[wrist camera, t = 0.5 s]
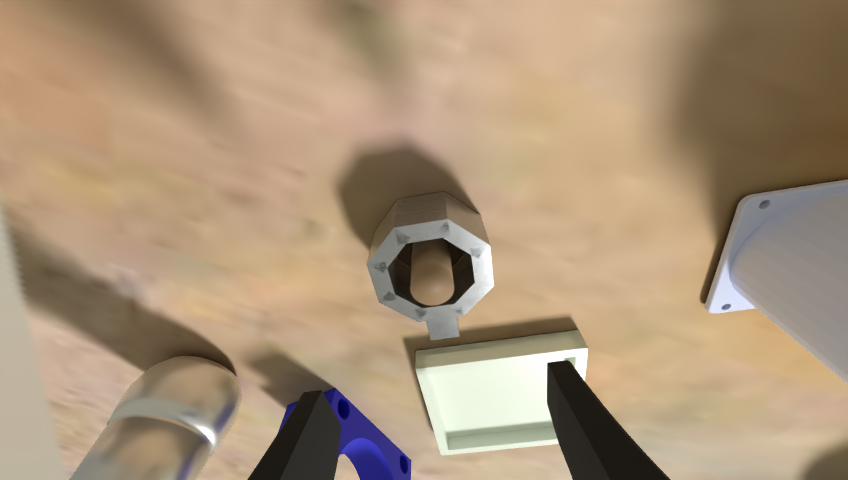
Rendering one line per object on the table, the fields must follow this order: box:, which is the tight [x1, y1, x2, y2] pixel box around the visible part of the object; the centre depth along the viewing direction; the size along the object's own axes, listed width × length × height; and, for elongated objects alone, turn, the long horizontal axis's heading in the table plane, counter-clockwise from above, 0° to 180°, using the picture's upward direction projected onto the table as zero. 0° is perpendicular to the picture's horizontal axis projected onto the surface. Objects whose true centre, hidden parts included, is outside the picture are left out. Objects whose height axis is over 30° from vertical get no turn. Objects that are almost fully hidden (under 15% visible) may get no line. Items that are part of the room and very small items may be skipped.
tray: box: [415, 330, 588, 456], centre depth 25 cm, size 11×11×2 cm
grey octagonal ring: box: [367, 191, 494, 340], centre depth 18 cm, size 6×7×3 cm
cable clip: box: [278, 388, 411, 480], centre depth 27 cm, size 12×4×6 cm, turn 27°
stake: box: [410, 238, 454, 305], centre depth 17 cm, size 2×2×4 cm
